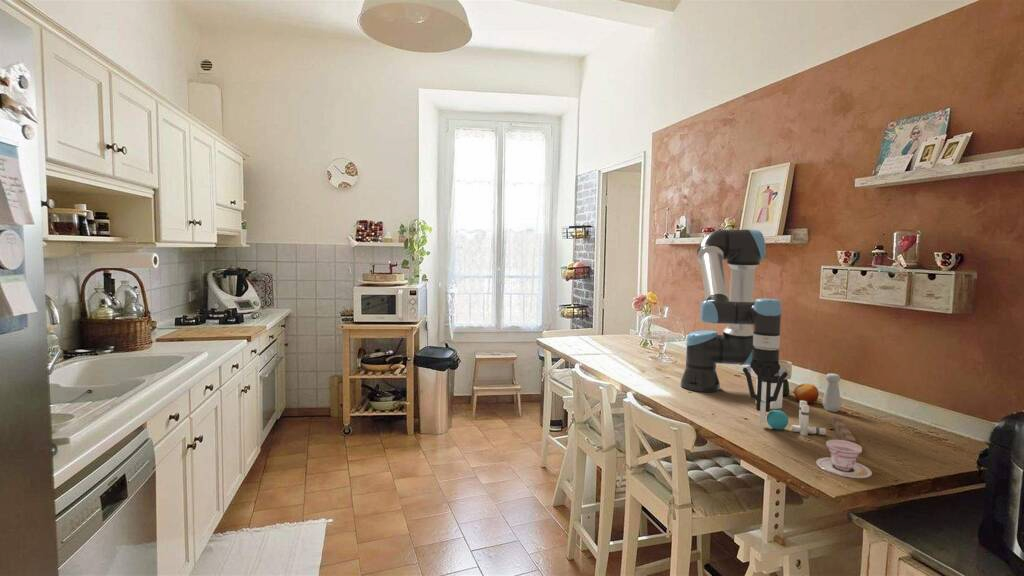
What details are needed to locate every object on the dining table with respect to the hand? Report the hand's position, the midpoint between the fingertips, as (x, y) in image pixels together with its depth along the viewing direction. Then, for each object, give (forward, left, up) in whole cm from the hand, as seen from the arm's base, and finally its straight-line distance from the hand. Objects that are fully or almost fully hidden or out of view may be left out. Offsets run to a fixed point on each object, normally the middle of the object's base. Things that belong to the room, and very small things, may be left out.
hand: (762, 421), depth 160 cm
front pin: (+4, +7, -1) cm, 8 cm away
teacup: (+31, +5, -2) cm, 31 cm away
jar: (-23, +14, -2) cm, 27 cm away
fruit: (-28, +31, -2) cm, 42 cm away
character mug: (-38, +27, -2) cm, 47 cm away
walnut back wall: (+9, +20, -2) cm, 22 cm away
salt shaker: (-18, +34, -2) cm, 39 cm away
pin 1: (+2, +11, -2) cm, 12 cm away
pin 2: (+7, +9, -2) cm, 12 cm away
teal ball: (+2, +4, +1) cm, 4 cm away
